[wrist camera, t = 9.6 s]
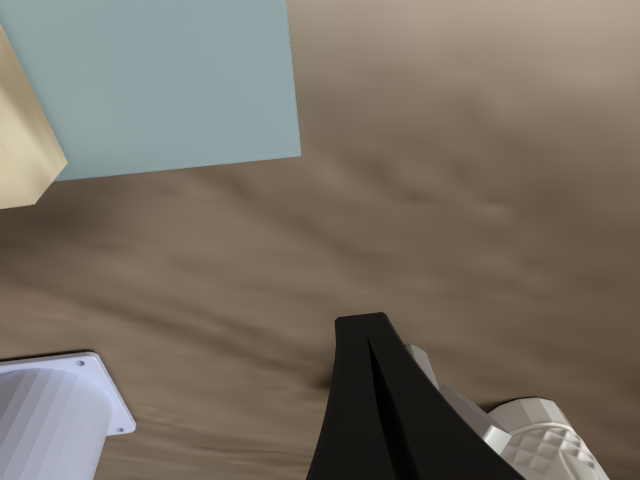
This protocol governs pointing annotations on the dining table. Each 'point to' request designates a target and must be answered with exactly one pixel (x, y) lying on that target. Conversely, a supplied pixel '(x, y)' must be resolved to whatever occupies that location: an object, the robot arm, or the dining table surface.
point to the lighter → (465, 407)
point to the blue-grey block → (158, 81)
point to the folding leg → (23, 136)
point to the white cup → (544, 442)
